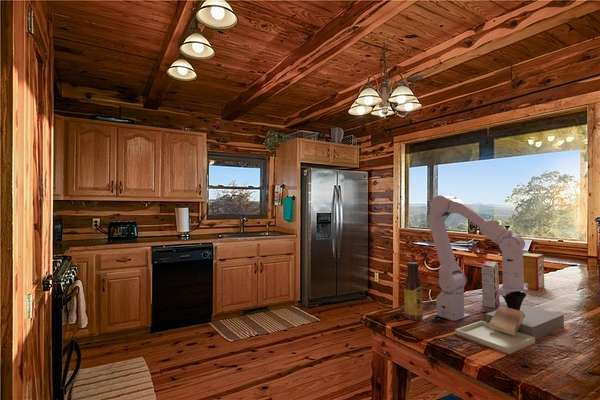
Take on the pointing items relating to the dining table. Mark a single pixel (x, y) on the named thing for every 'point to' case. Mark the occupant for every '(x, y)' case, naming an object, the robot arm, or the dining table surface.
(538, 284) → the baking soda box
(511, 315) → the tile
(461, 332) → the tray
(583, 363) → the dining table surface
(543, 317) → the grey flat block
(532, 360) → the dining table surface
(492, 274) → the candy bar box
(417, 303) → the sauce bottle
